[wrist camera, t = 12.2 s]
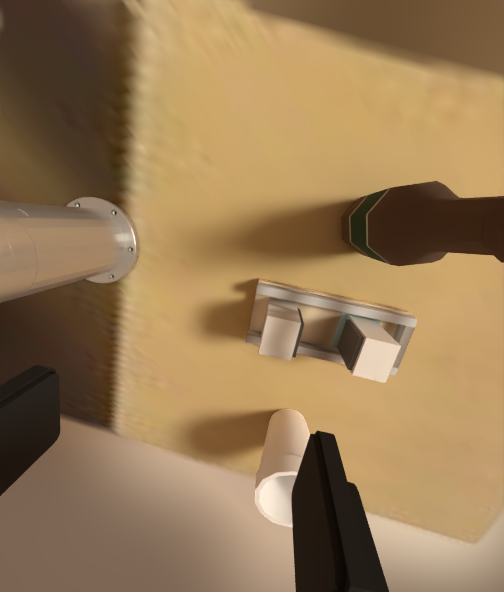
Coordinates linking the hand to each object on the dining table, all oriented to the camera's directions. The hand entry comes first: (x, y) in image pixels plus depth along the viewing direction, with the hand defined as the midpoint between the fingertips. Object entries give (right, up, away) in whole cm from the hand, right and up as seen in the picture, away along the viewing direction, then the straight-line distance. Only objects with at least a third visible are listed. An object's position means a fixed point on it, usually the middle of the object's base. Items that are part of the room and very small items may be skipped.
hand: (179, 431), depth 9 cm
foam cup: (+9, -17, +36) cm, 41 cm away
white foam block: (+18, -1, +28) cm, 33 cm away
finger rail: (+14, +1, +30) cm, 33 cm away
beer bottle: (+18, +15, +26) cm, 35 cm away
